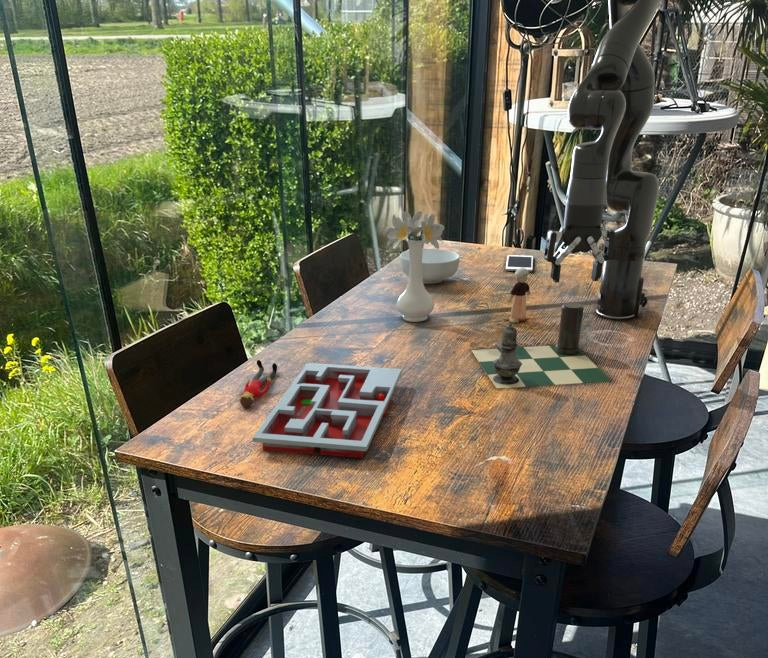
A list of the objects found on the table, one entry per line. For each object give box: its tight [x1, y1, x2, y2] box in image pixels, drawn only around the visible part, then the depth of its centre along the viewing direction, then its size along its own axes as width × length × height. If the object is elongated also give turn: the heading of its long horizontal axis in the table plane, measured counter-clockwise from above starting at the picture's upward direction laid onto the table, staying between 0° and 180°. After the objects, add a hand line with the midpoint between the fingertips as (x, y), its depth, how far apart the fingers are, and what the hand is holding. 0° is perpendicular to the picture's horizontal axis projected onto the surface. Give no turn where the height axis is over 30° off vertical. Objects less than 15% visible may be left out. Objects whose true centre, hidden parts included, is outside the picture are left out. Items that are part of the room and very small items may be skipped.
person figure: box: [239, 359, 278, 409], centre depth 159 cm, size 5×4×18 cm
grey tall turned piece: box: [493, 322, 522, 385], centre depth 160 cm, size 6×6×12 cm
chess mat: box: [470, 344, 612, 390], centre depth 170 cm, size 24×22×1 cm
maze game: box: [252, 362, 403, 459], centre depth 148 cm, size 35×20×3 cm, turn 169°
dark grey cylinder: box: [555, 301, 585, 355], centre depth 175 cm, size 5×5×10 cm
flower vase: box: [385, 210, 445, 323], centre depth 192 cm, size 13×18×25 cm
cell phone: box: [505, 254, 534, 272], centre depth 240 cm, size 8×16×1 cm, turn 171°
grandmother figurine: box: [507, 268, 532, 324], centre depth 193 cm, size 8×4×13 cm, turn 143°
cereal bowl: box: [399, 248, 460, 285], centre depth 225 cm, size 17×17×7 cm
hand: (575, 281), depth 169 cm, fingers open, 8 cm apart
